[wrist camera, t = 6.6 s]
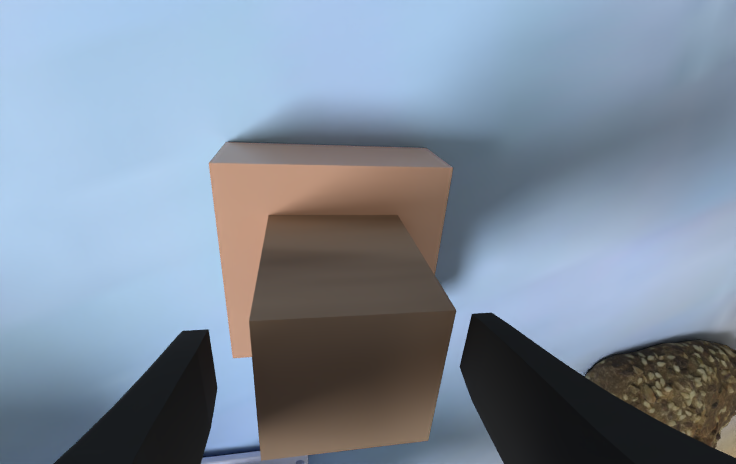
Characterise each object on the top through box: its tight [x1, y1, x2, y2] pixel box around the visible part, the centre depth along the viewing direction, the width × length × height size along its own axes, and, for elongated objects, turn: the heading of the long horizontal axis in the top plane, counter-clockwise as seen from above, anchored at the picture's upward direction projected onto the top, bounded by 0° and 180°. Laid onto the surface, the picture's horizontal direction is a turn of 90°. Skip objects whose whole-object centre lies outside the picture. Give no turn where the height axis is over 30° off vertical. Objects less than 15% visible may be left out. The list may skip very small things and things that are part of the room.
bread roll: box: [585, 340, 736, 448], centre depth 25 cm, size 13×12×5 cm
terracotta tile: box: [209, 142, 453, 358], centre depth 15 cm, size 8×8×3 cm
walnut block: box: [249, 215, 456, 461], centre depth 11 cm, size 4×4×6 cm
